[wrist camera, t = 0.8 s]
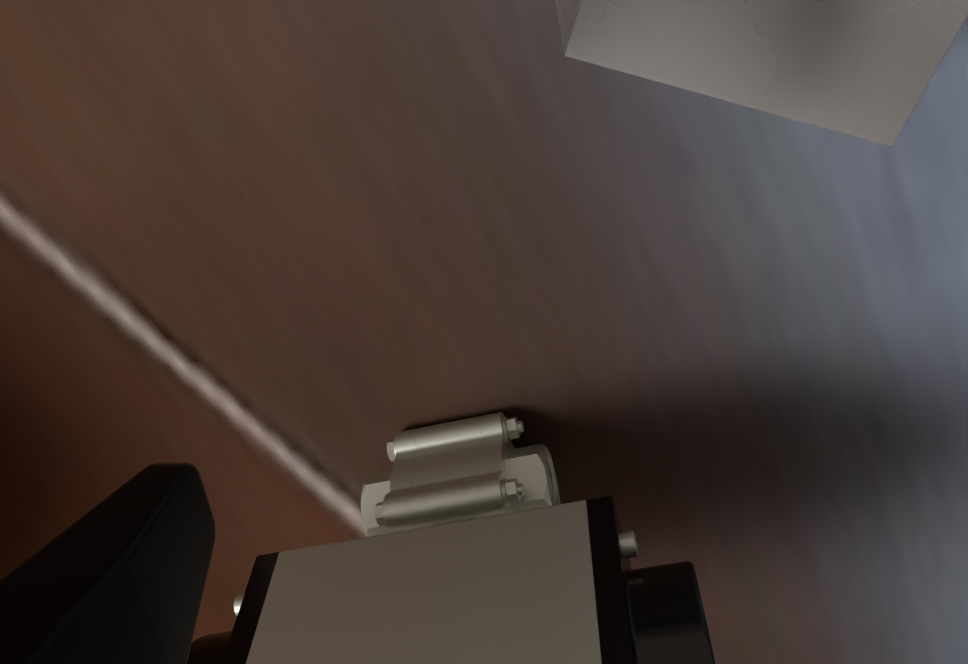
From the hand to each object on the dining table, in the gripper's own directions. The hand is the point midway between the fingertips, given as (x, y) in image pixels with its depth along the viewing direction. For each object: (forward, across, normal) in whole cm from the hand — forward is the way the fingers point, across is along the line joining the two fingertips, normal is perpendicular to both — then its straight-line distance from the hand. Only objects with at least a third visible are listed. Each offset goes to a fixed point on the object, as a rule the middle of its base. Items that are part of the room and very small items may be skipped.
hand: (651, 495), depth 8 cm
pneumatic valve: (+13, +3, +12) cm, 17 cm away
